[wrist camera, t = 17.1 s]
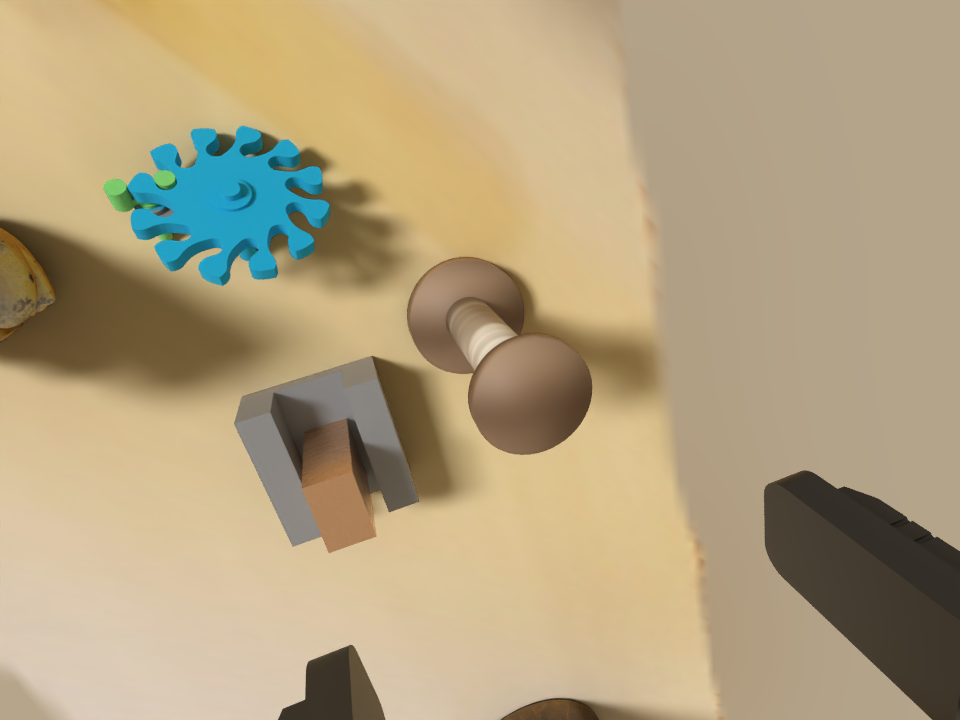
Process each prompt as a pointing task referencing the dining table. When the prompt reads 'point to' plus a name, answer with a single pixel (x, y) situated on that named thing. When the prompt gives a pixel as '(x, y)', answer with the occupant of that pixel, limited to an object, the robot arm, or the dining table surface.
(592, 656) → the dining table surface
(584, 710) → the wooden container
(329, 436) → the copper tab
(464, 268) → the bobbin
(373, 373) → the grooved channel block
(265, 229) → the gear
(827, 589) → the robot arm
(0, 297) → the decorative figurine
